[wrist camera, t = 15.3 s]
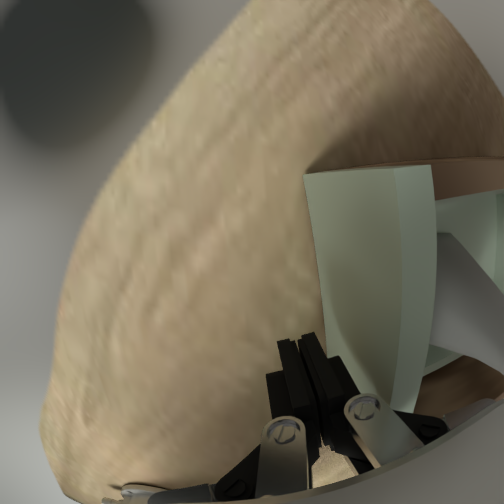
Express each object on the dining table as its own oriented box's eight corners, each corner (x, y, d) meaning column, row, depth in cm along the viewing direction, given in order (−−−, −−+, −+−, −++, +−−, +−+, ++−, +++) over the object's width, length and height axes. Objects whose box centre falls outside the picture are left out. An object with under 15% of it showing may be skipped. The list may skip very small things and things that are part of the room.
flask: (435, 340, 16) (516, 423, 6) (362, 327, 15) (454, 453, 5) (475, 248, 14) (582, 299, 4) (409, 211, 13) (564, 261, 3)
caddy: (342, 378, 18) (386, 469, 10) (321, 171, 14) (419, 164, 6) (483, 316, 18) (541, 360, 9) (489, 156, 14) (572, 162, 6)
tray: (329, 385, 18) (368, 483, 9) (302, 174, 14) (393, 168, 5) (476, 323, 18) (537, 372, 9) (482, 156, 14) (572, 162, 5)
